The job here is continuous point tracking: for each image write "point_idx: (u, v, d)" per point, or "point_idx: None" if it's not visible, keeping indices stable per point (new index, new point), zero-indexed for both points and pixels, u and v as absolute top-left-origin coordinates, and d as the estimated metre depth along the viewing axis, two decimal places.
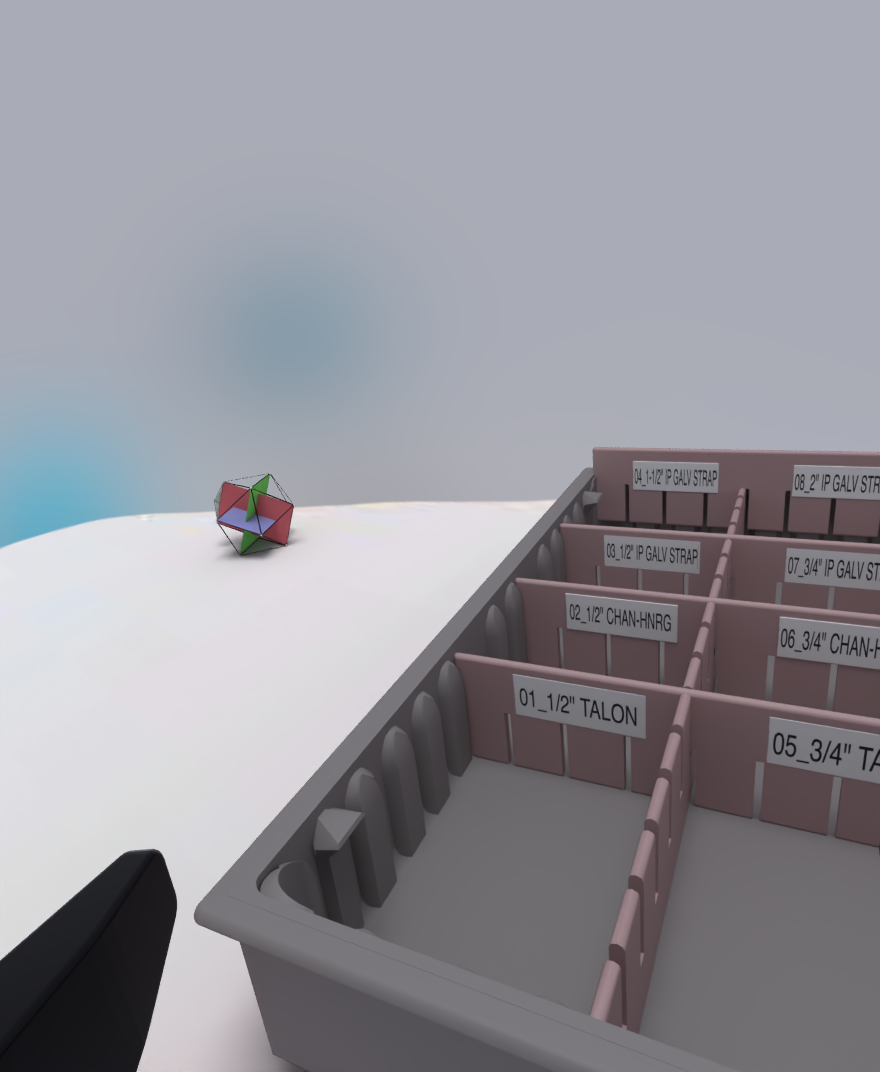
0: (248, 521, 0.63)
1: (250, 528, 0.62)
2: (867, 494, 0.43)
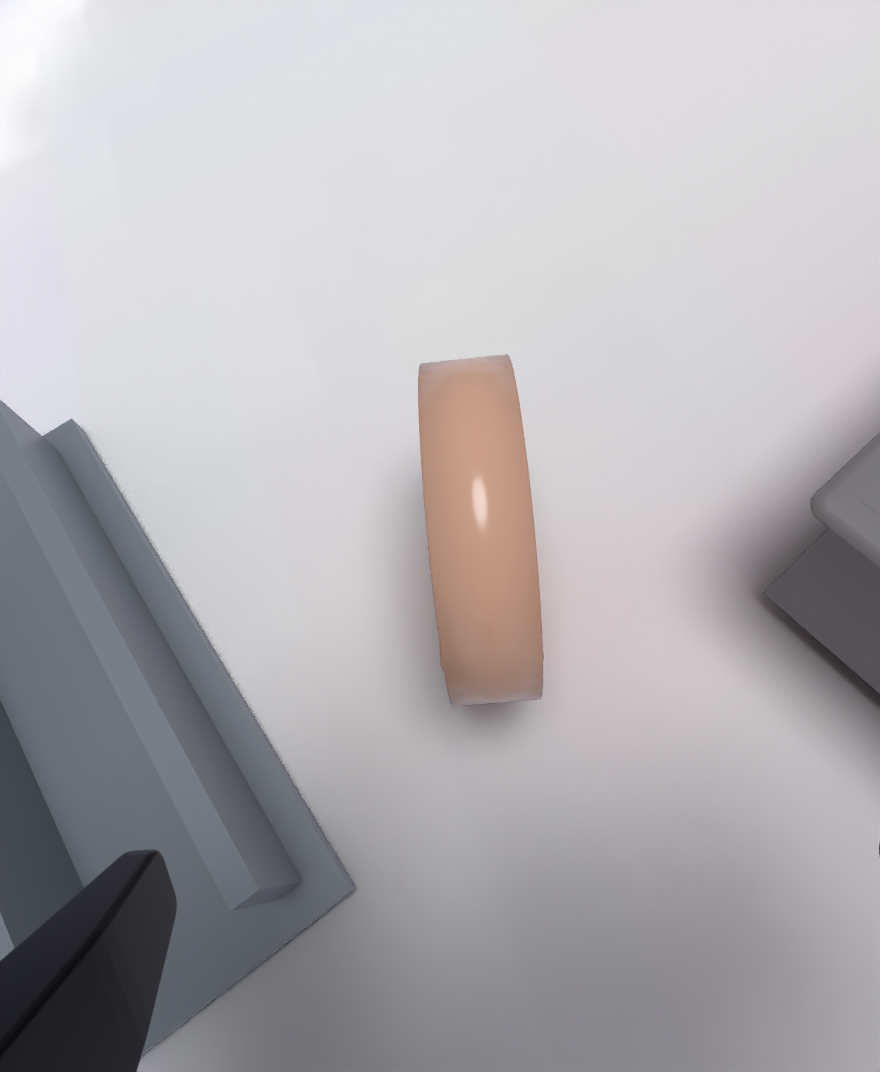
0: None
1: None
2: None
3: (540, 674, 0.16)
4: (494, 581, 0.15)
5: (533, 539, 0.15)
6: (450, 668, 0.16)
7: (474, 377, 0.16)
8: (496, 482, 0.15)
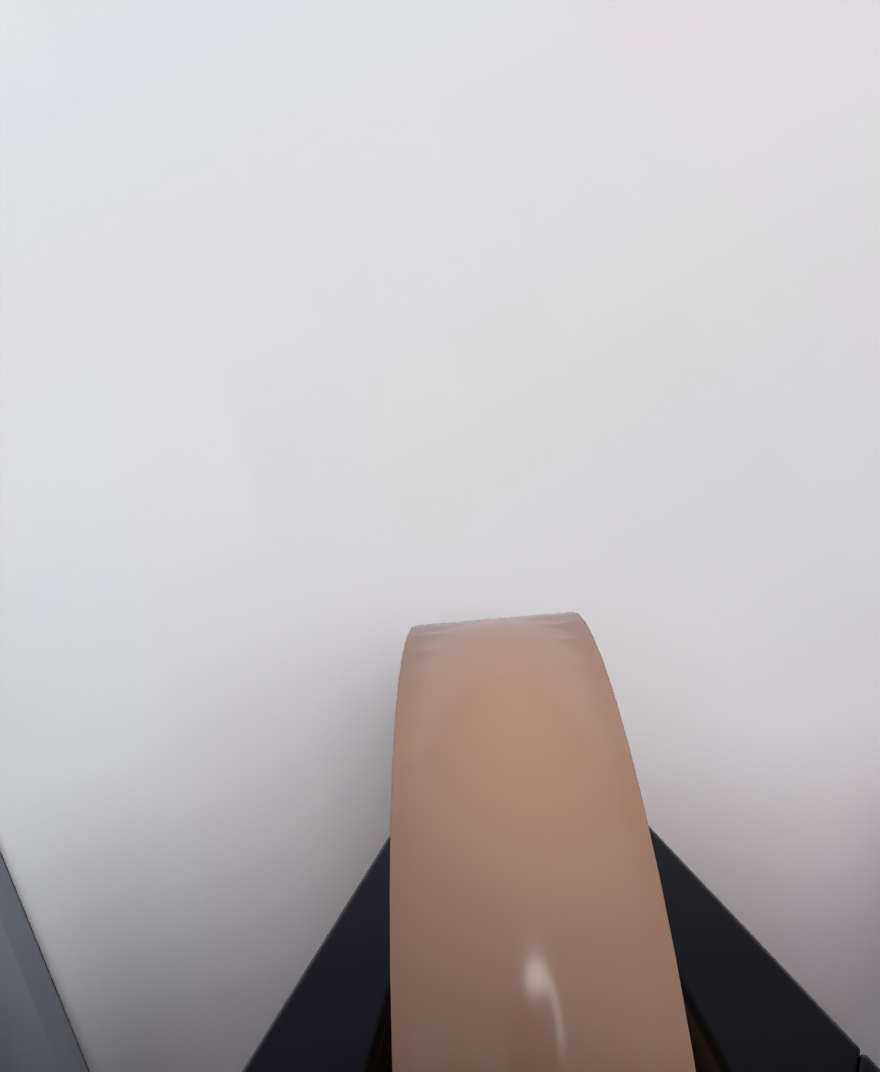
0: None
1: None
2: None
3: None
4: None
5: None
6: None
7: (530, 769, 0.07)
8: None
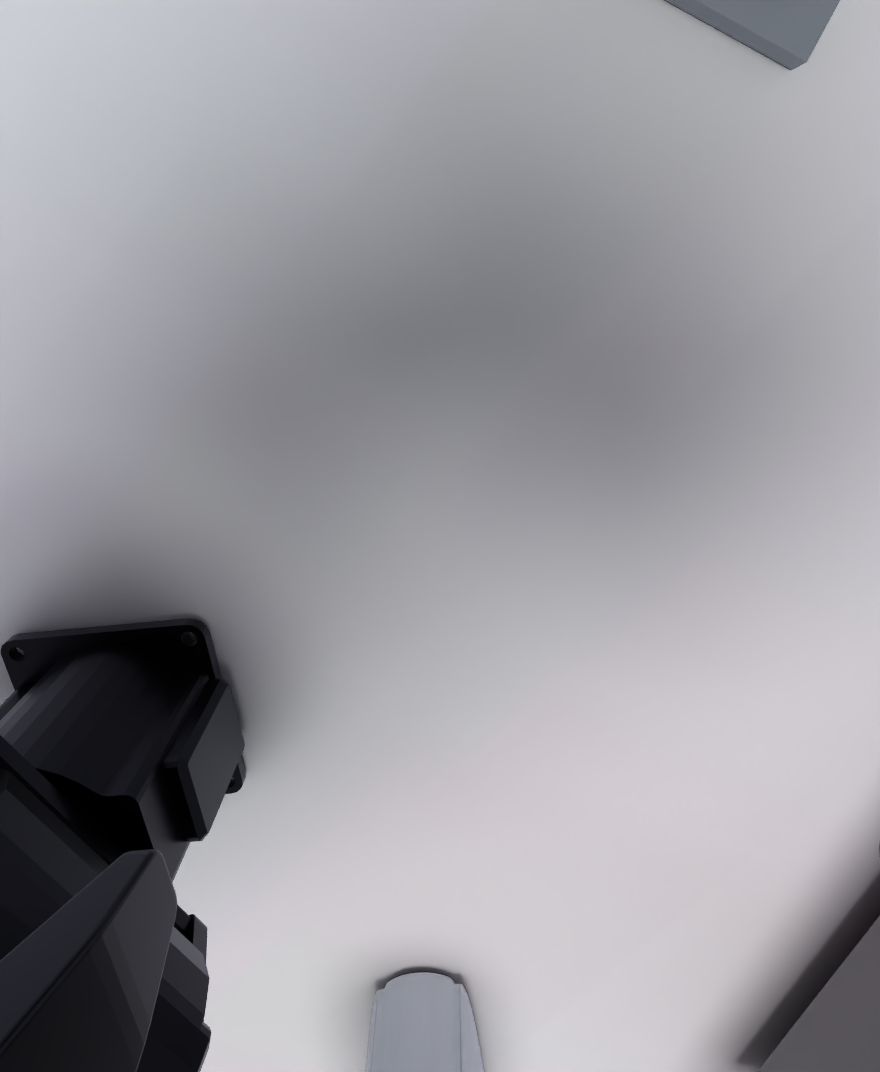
0: None
1: None
2: None
3: None
4: None
5: None
6: None
7: None
8: None
